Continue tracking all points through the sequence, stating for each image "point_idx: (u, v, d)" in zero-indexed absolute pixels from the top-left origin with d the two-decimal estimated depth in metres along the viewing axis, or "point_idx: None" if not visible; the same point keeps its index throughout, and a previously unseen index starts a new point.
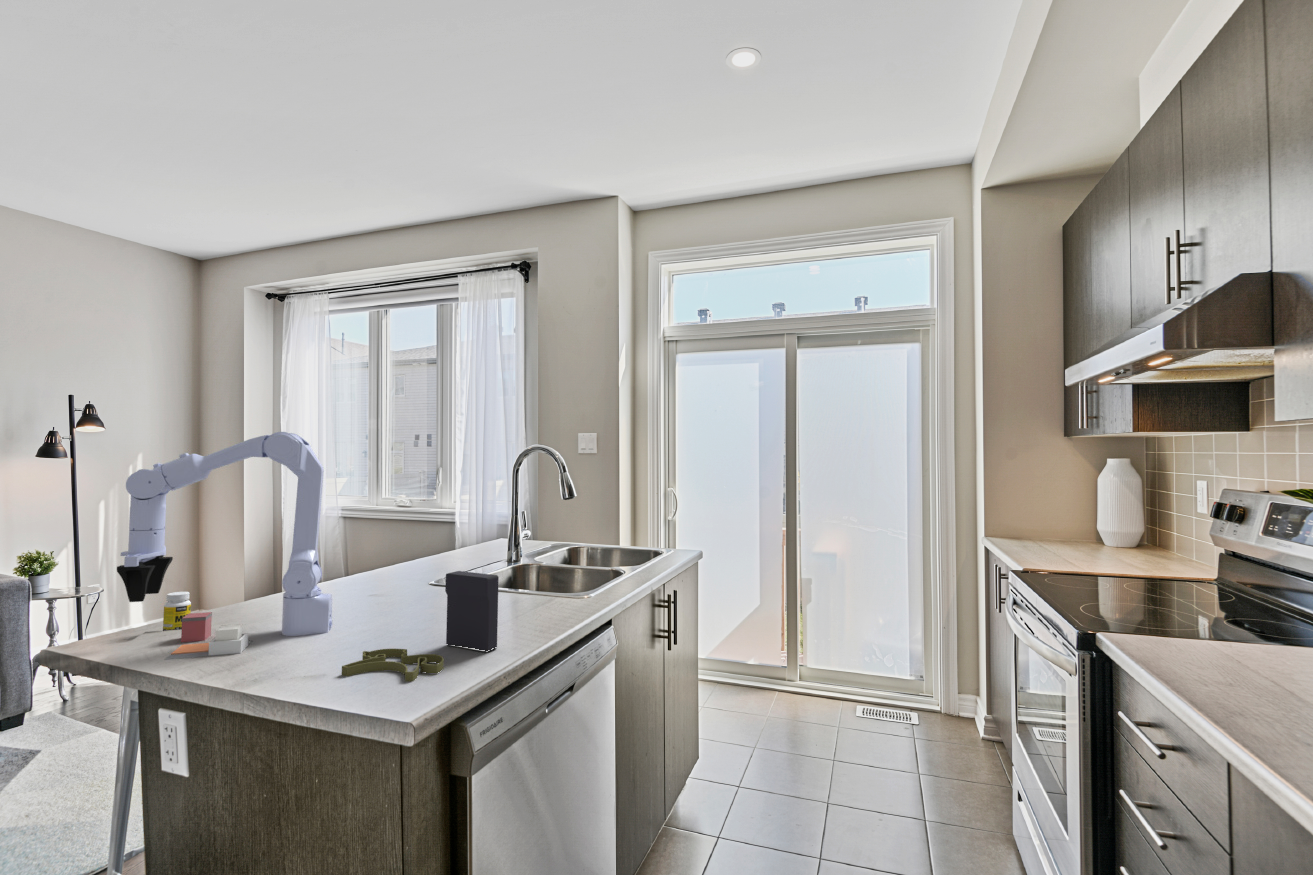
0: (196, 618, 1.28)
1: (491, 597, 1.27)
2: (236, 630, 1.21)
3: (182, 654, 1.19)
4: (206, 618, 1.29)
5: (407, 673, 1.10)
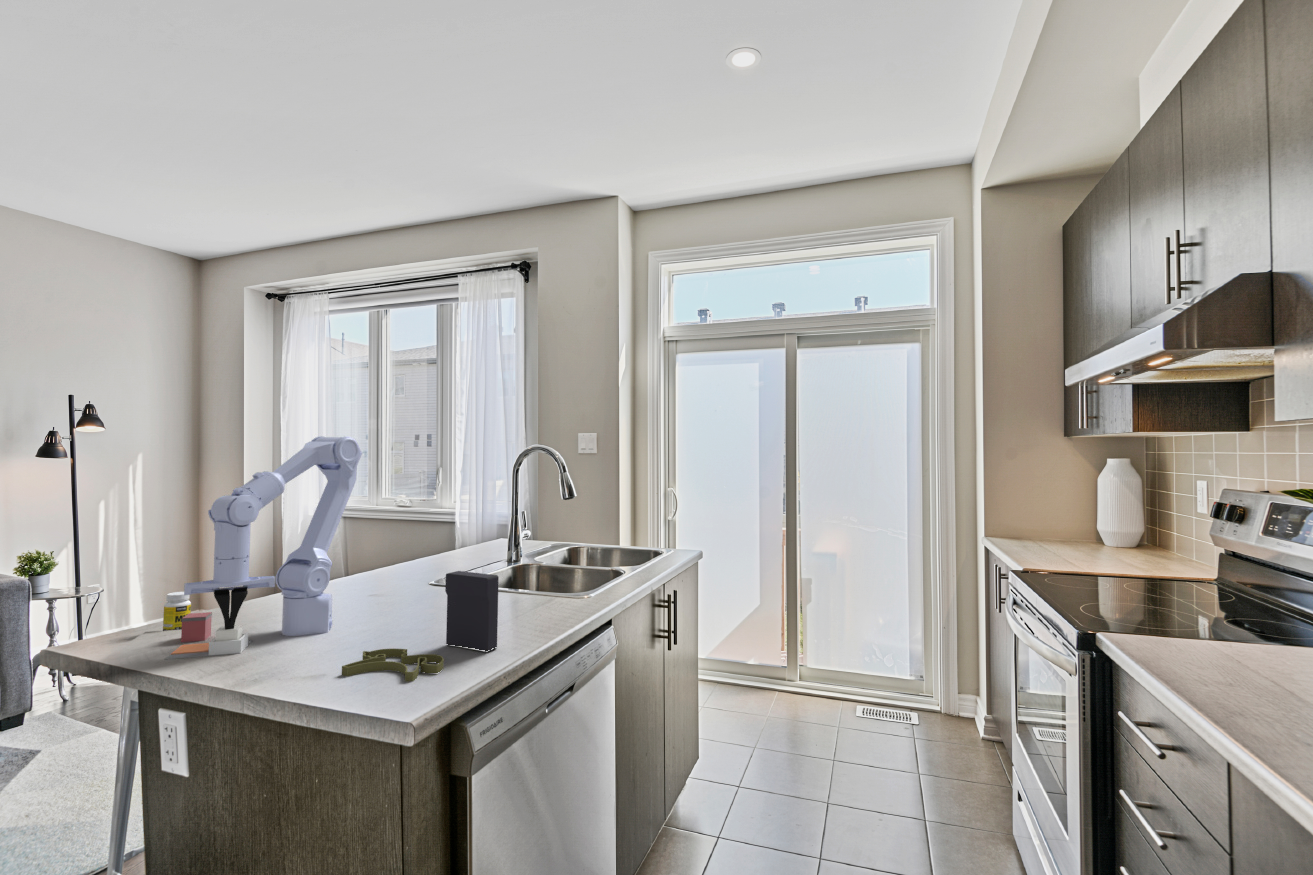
0: (196, 618, 1.28)
1: (491, 597, 1.27)
2: (236, 631, 1.21)
3: (182, 654, 1.19)
4: (206, 618, 1.29)
5: (407, 673, 1.10)
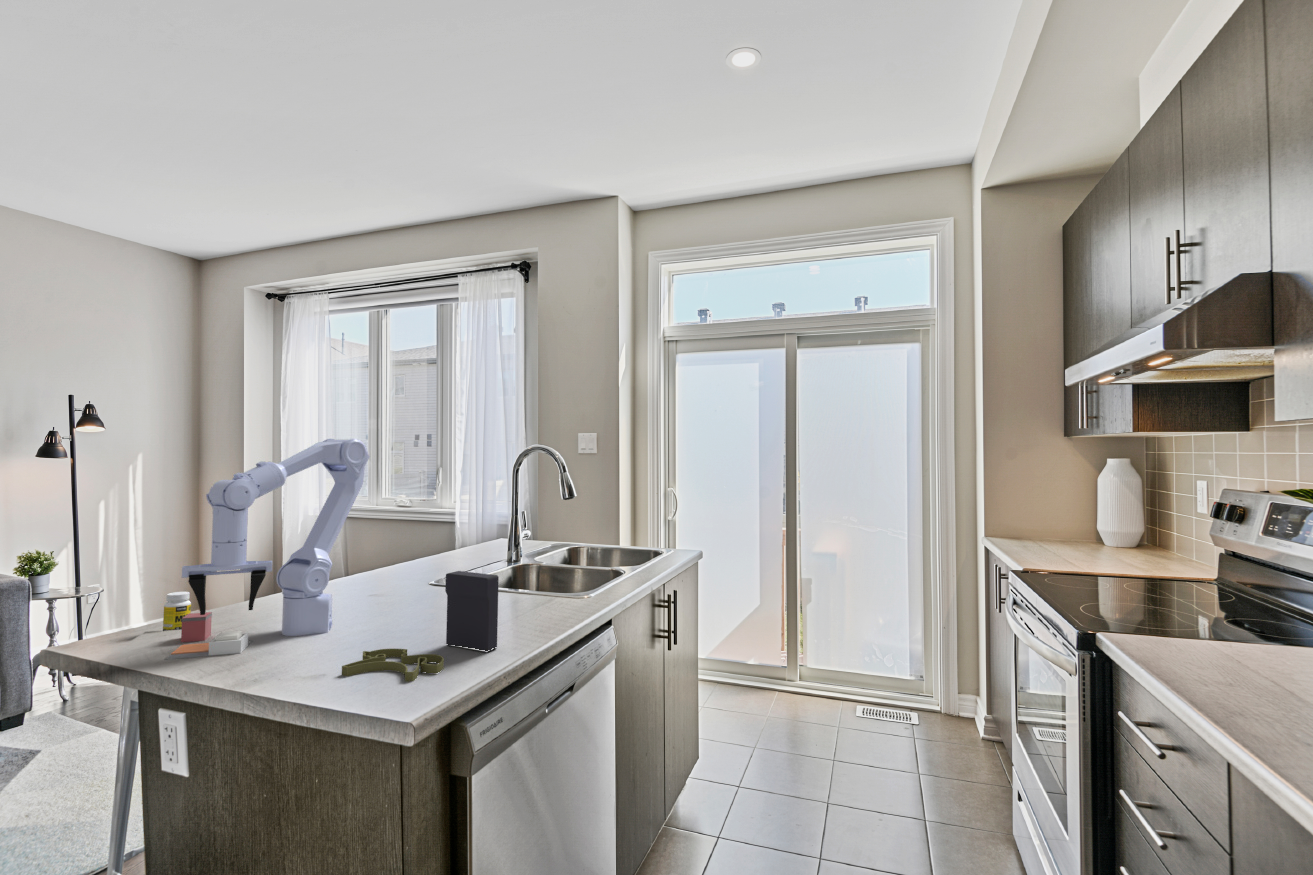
0: (196, 618, 1.28)
1: (491, 597, 1.27)
2: (236, 636, 1.21)
3: (182, 654, 1.19)
4: (206, 618, 1.29)
5: (407, 673, 1.10)
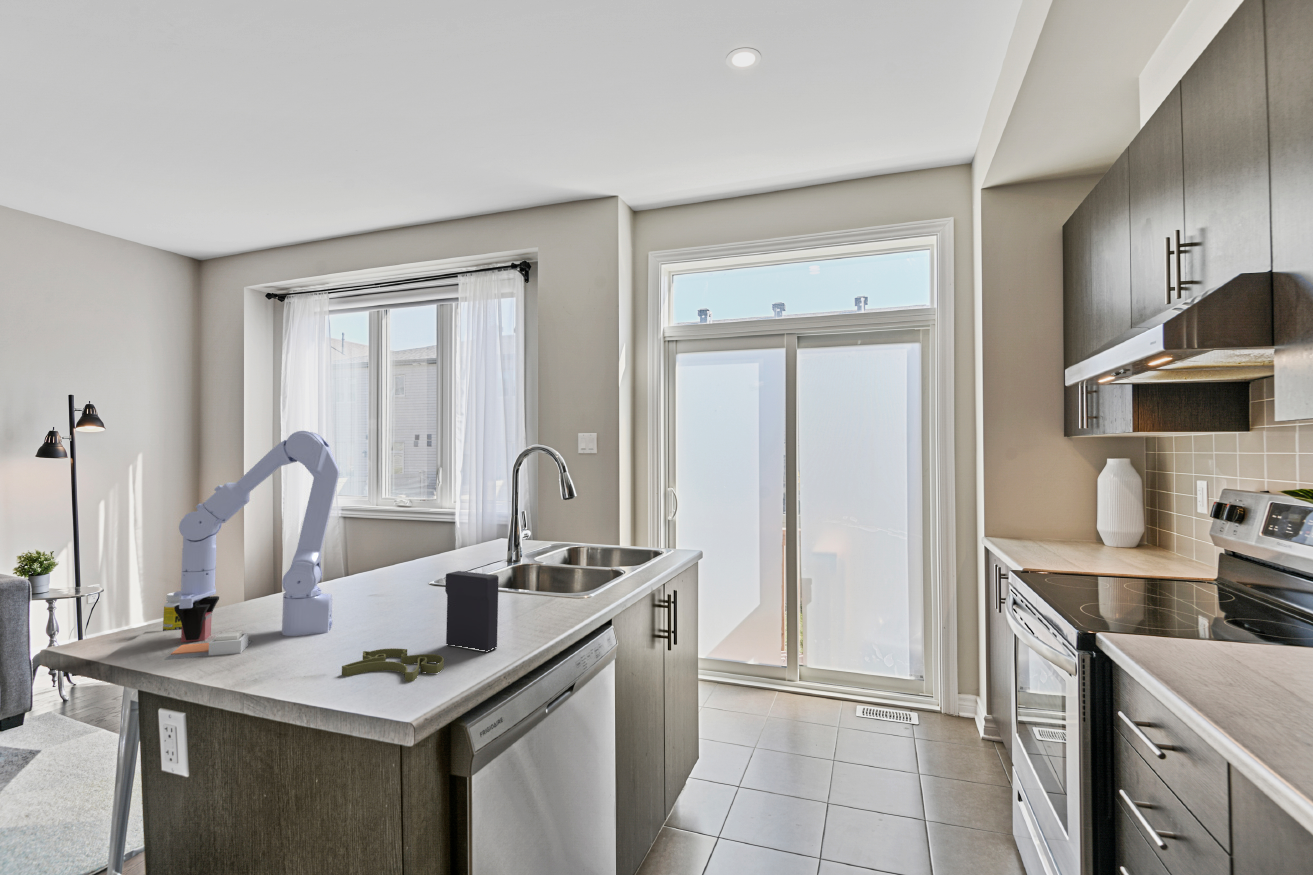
0: None
1: (491, 597, 1.27)
2: (236, 636, 1.21)
3: (182, 654, 1.19)
4: (206, 618, 1.29)
5: (407, 673, 1.10)
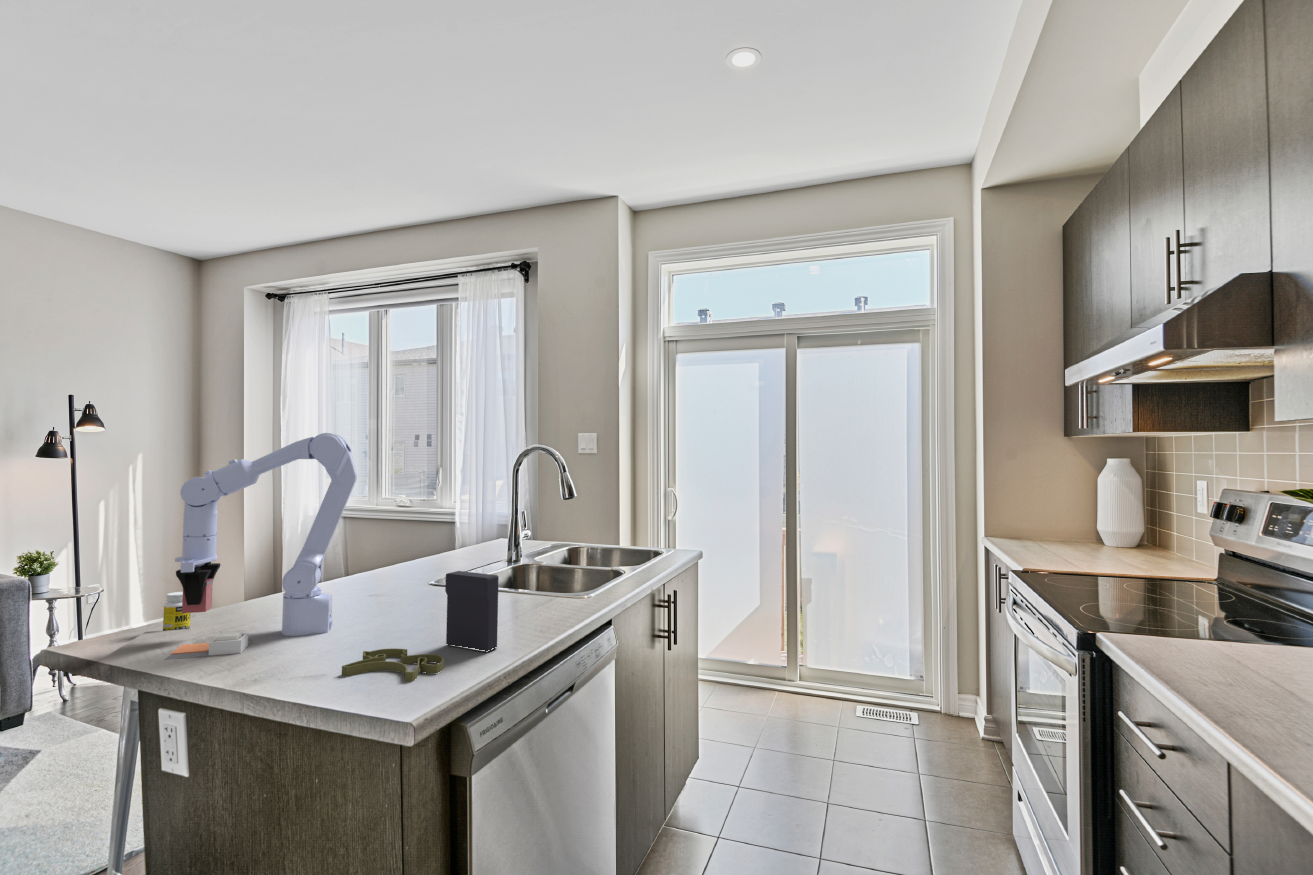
0: None
1: (491, 597, 1.27)
2: (236, 636, 1.21)
3: (182, 654, 1.19)
4: (207, 584, 1.29)
5: (407, 673, 1.10)
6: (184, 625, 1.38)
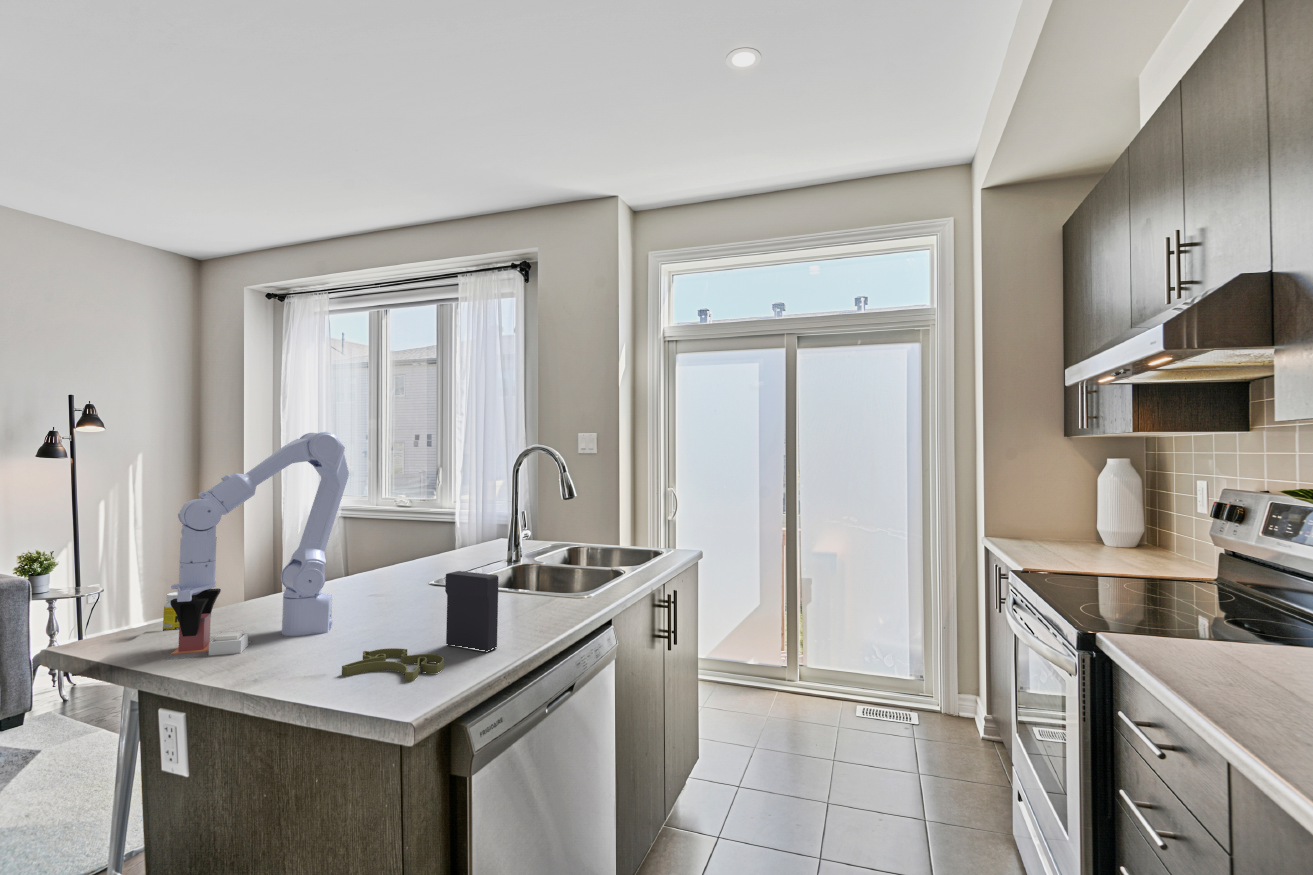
0: None
1: (491, 597, 1.27)
2: (236, 636, 1.21)
3: (182, 654, 1.19)
4: (205, 620, 1.22)
5: (407, 673, 1.10)
6: None
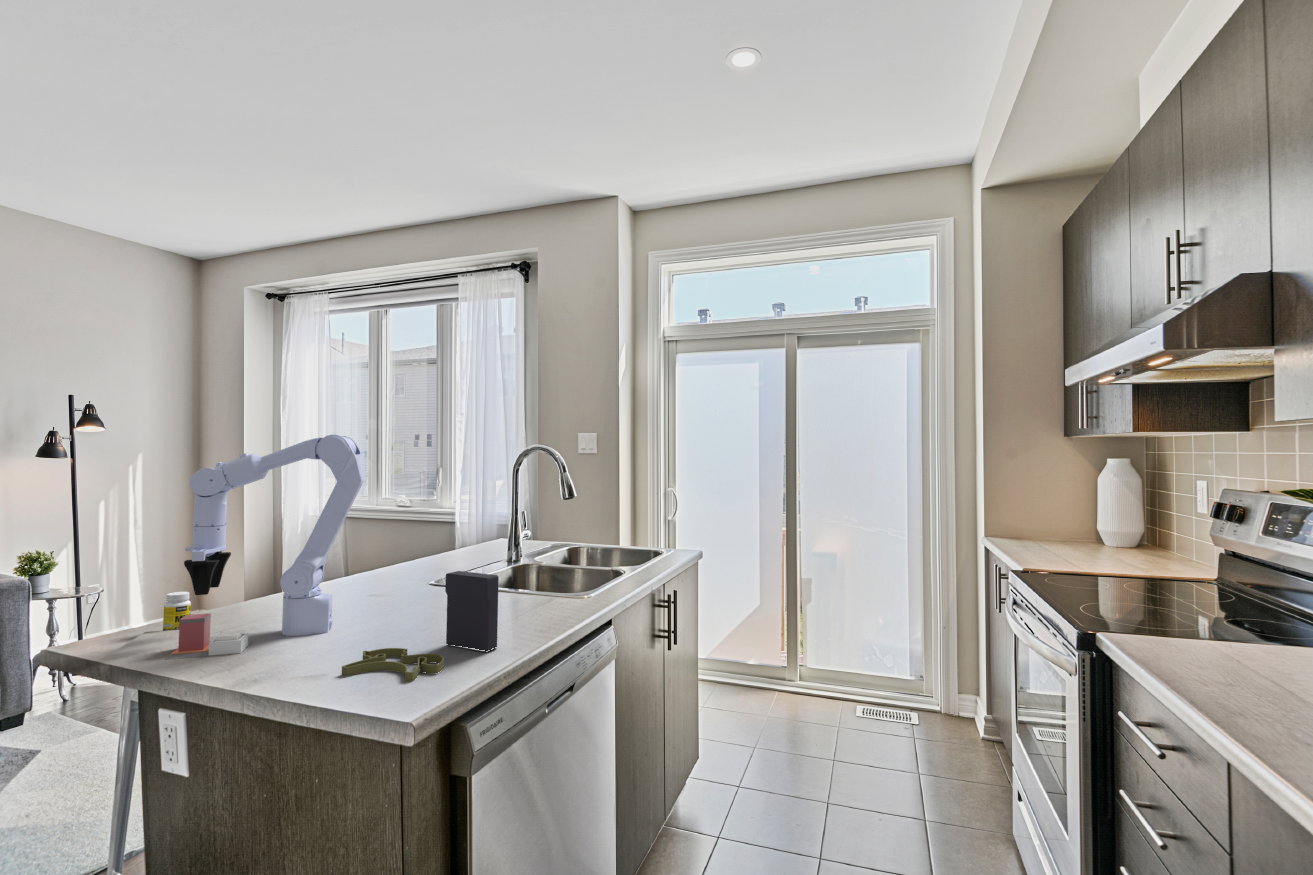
0: (194, 620, 1.21)
1: (491, 597, 1.27)
2: (236, 636, 1.21)
3: (182, 654, 1.19)
4: (205, 620, 1.22)
5: (407, 673, 1.10)
6: None
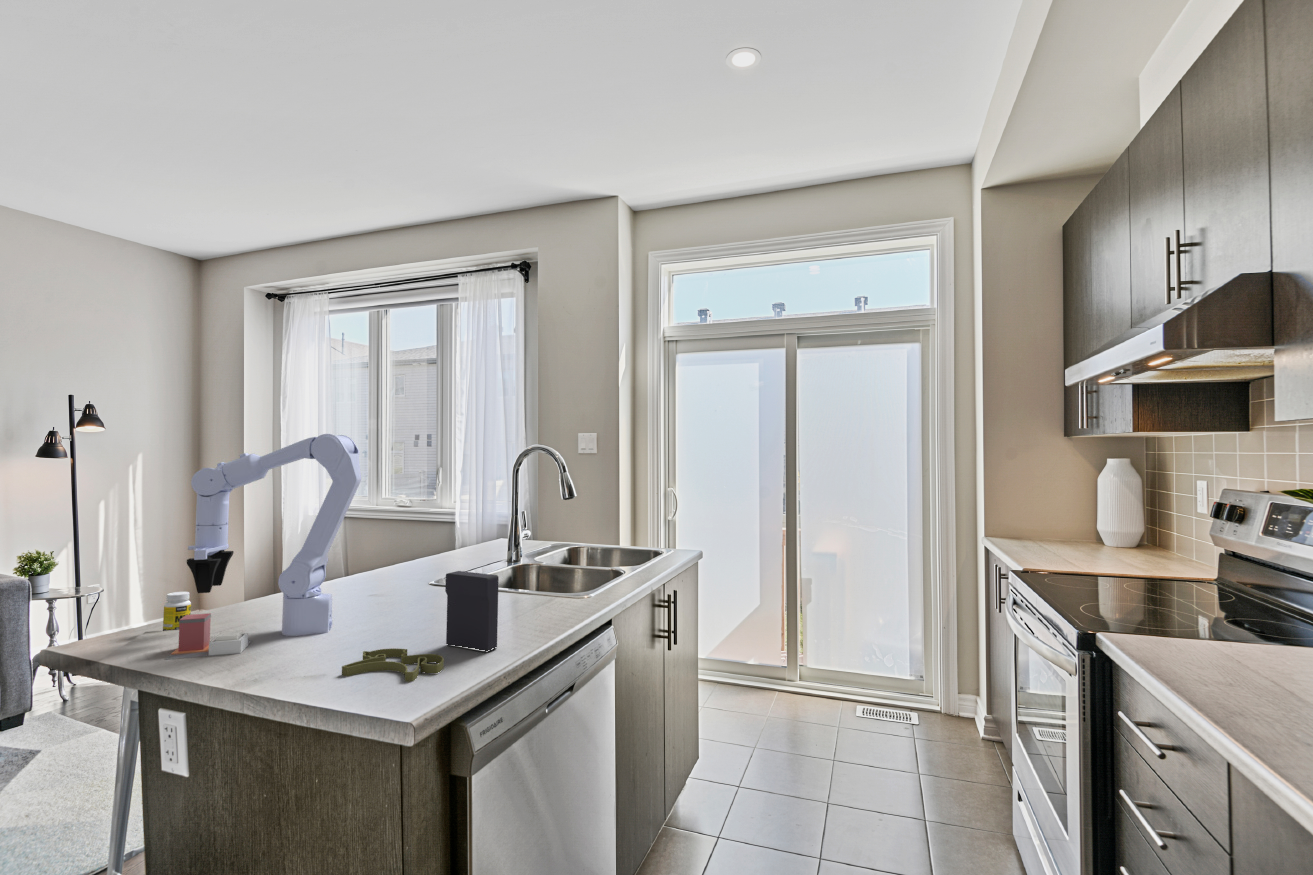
0: (194, 620, 1.21)
1: (491, 597, 1.27)
2: (236, 636, 1.21)
3: (182, 654, 1.19)
4: (205, 620, 1.22)
5: (407, 673, 1.10)
6: None
